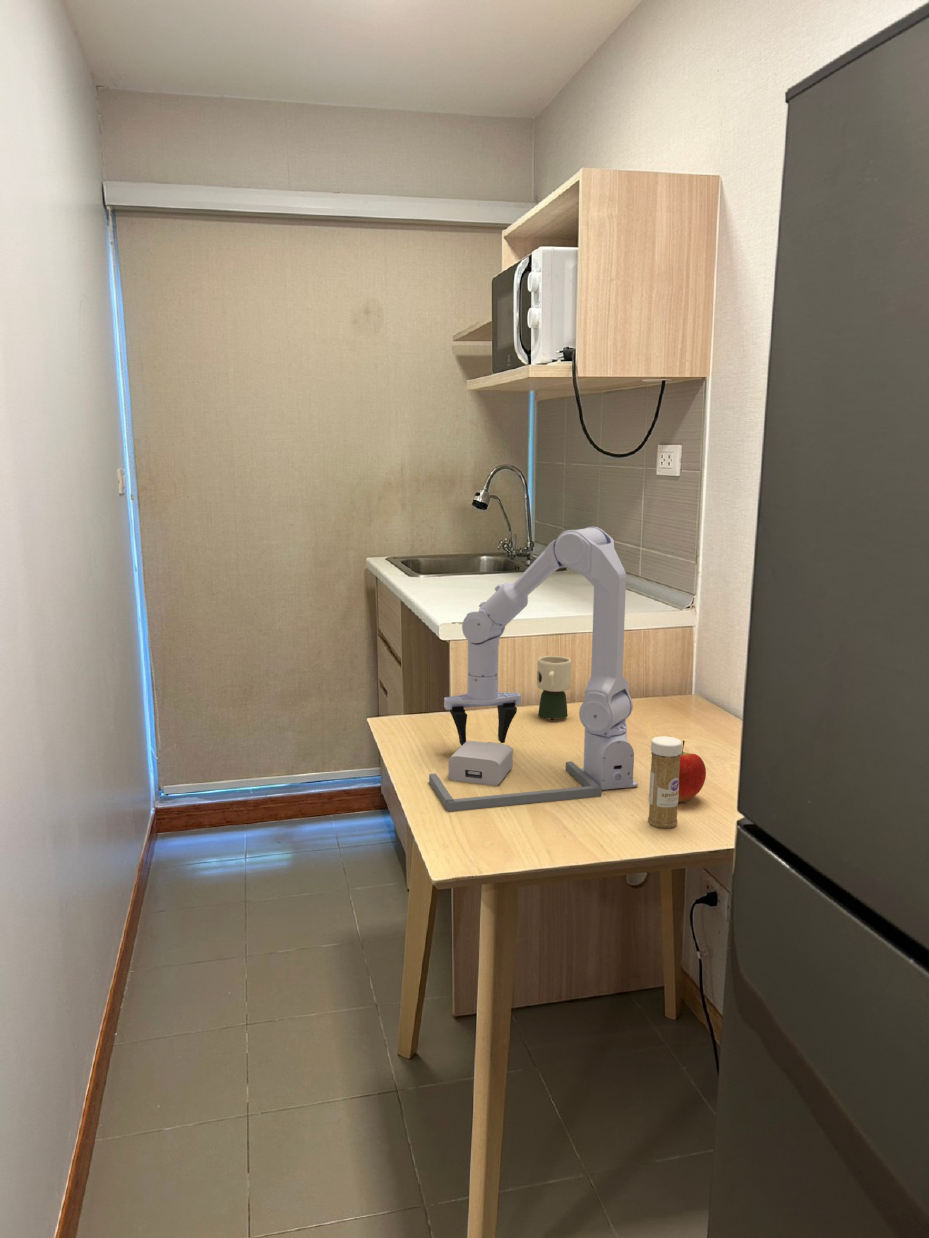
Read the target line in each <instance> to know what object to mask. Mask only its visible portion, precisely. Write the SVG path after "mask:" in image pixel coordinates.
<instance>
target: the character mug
mask: <svg viewBox="0 0 929 1238" xmlns="http://www.w3.org/2000/svg"><path fill="white" fill-rule="evenodd" d="M571 671H572V659H571V658H569V657H566V656H560V655H545V656H540V657H538V658H537V672H536V673H537V674H536V686H537V688H538V689H541V690H542V693H541V695H540V700H539V707H538V713H537V716H538V717H539V718H542V719H550V720H551V721H554V719H566V718H567V717H568V704H567V703H568V702H567V694H566V693H565V691H568V690H570V689H571V683H572V682H571V677H572V676H571V675H572V674H571V673H572V672H571Z"/></svg>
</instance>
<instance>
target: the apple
mask: <svg viewBox="0 0 929 1238" xmlns="http://www.w3.org/2000/svg"><path fill="white" fill-rule="evenodd" d="M685 742H686V741H685V740H684V739H683V740H682V752H681V754H680V767H679V768H680V769H679V797H678V803H681V802H682V803H683V802H686V801H689V800H691V799H693V798H694V797H696V796H697V795H698V794H699V793H700V791H701V790H702V788H703V786H704V785H705V781H706V777H707V769H706V765H705V764H706V763H704V760H703V759H702V758H701V756H699V755H698V754H696V753H691V752H690V753H689V752H687V751H684V746H685V744H686V743H685Z"/></svg>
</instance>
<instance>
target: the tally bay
mask: <svg viewBox="0 0 929 1238" xmlns="http://www.w3.org/2000/svg"><path fill="white" fill-rule="evenodd" d="M581 769H582V768H580V767H579V766H578V765H577V764H575V762H574V761H566V762H565V771H566V772H567V773H568V774H570V776H572V777H573V779H575V780H576V781H577V782H578V783H579V784H580V785H581V786H576V787H565V788H557V789H556V788H555V789H547V790H546V789H545V790H533V791H524V792H514V793H503V794H491V795H483V796H472V797H471V796H470V797H464V798H463V797H462V798H453V797H452V795H451V794H450V793H449V791H448V789H447V788H446V787H445V785H444V783H443V781H442V780H441V778H440V777H439V776H438V774H437V773H436V772H435V773H428V781H429V785H430V786H431V788H432V789H433V791H434V792H435V794H436V795H437V797H438V799H439V800H440V803H442V805H443V807H444V808H445V810H446V811H447V812H457V811H468V810H477V809H486V808H489V809H490V808H496V807H505V806H507V807H508V806H518V805H519V806H520V805H527V804H529V805H530V804H536V803H538V804H539V803H547V802H556V801H557V802H558V801H566V800H569V801H570V800H577V799H588V798H595V797H597V798H598V797H602V791H603V790H602V788H601V787H600V786H599V785H598V784H597V783H596V782H595V781H593V780H592V779H591V778H590V777H589V776H588V775H587V774H586V773H584V772H583V771H582V770H581Z"/></svg>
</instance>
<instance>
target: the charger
mask: <svg viewBox="0 0 929 1238" xmlns="http://www.w3.org/2000/svg"><path fill="white" fill-rule="evenodd" d="M513 753H514V750H513V747H512V746H510V745H507V744H505V743H501V742H492V741H488V742H484V741H475V740H474V741H473V740H469V741H467V740H466V742H465V743H464V744H463V745H460V747H459V748H458V749H457V750H456V751H455V752H454V753H453V754H451V756H450V757H449V758H448V762H447V765H448V768H447V769H448V779H449V781H453V782H454V781H455V782H461V783H469V784H478V785H485V786H486V785H487V786H493V787H494V786H495V787H497V786H498V785H499V784H500V783H502V781H503V780H504V778H505V777H506V776H507V775H508V773H509V772H510V770H512V768H513V761H514V760H513V758H514V757H513Z"/></svg>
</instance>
